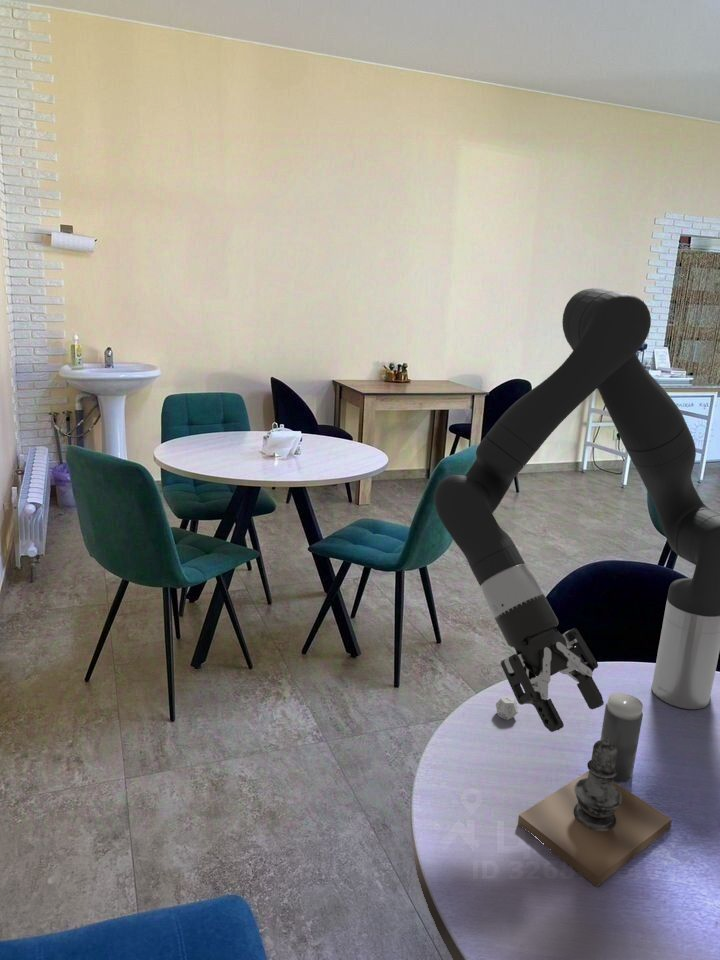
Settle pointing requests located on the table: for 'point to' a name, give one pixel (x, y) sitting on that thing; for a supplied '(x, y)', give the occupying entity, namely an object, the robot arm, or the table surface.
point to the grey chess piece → (599, 789)
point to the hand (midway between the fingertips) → (578, 718)
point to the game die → (507, 707)
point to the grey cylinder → (623, 731)
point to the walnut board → (594, 832)
